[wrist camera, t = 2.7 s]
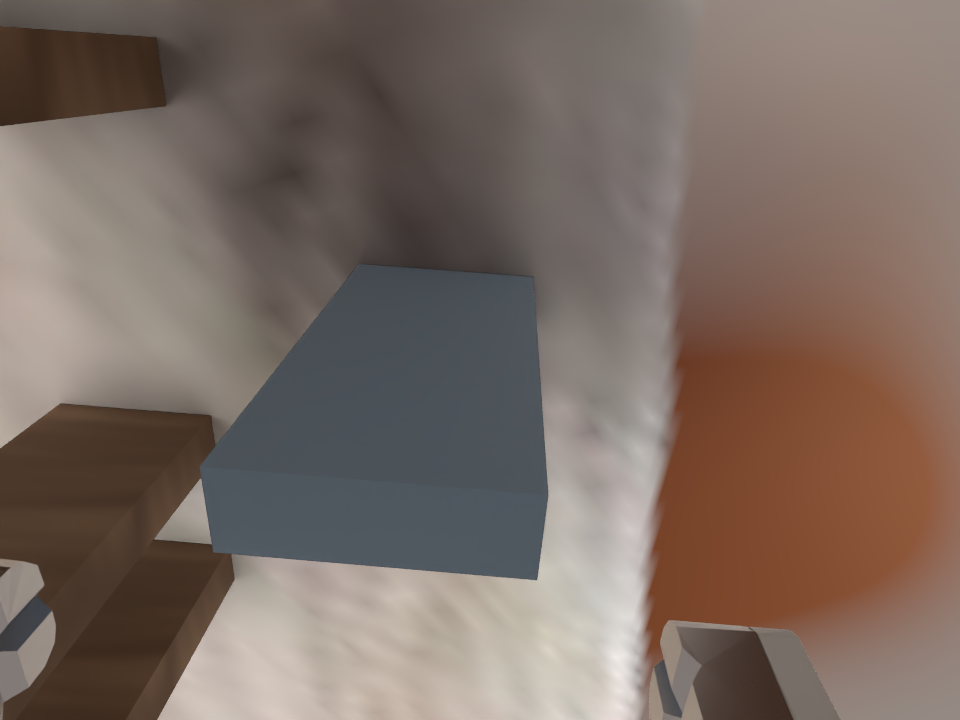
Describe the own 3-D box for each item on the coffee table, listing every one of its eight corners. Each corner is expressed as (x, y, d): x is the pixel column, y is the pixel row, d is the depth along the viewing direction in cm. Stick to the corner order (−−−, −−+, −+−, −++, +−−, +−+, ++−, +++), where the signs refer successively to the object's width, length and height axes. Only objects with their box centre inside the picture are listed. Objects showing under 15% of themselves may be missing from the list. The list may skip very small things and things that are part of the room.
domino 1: (94, 534, 23) (-180, 838, 14) (229, 546, 23) (40, 861, 14) (103, 568, 24) (-153, 878, 15) (234, 579, 24) (57, 899, 15)
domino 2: (60, 403, 21) (-296, 668, 12) (210, 415, 21) (-31, 693, 12) (71, 444, 21) (-257, 725, 12) (216, 456, 21) (-7, 749, 12)
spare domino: (358, 264, 18) (200, 466, 9) (533, 276, 18) (548, 495, 9) (360, 315, 19) (212, 552, 10) (528, 328, 19) (537, 580, 10)
